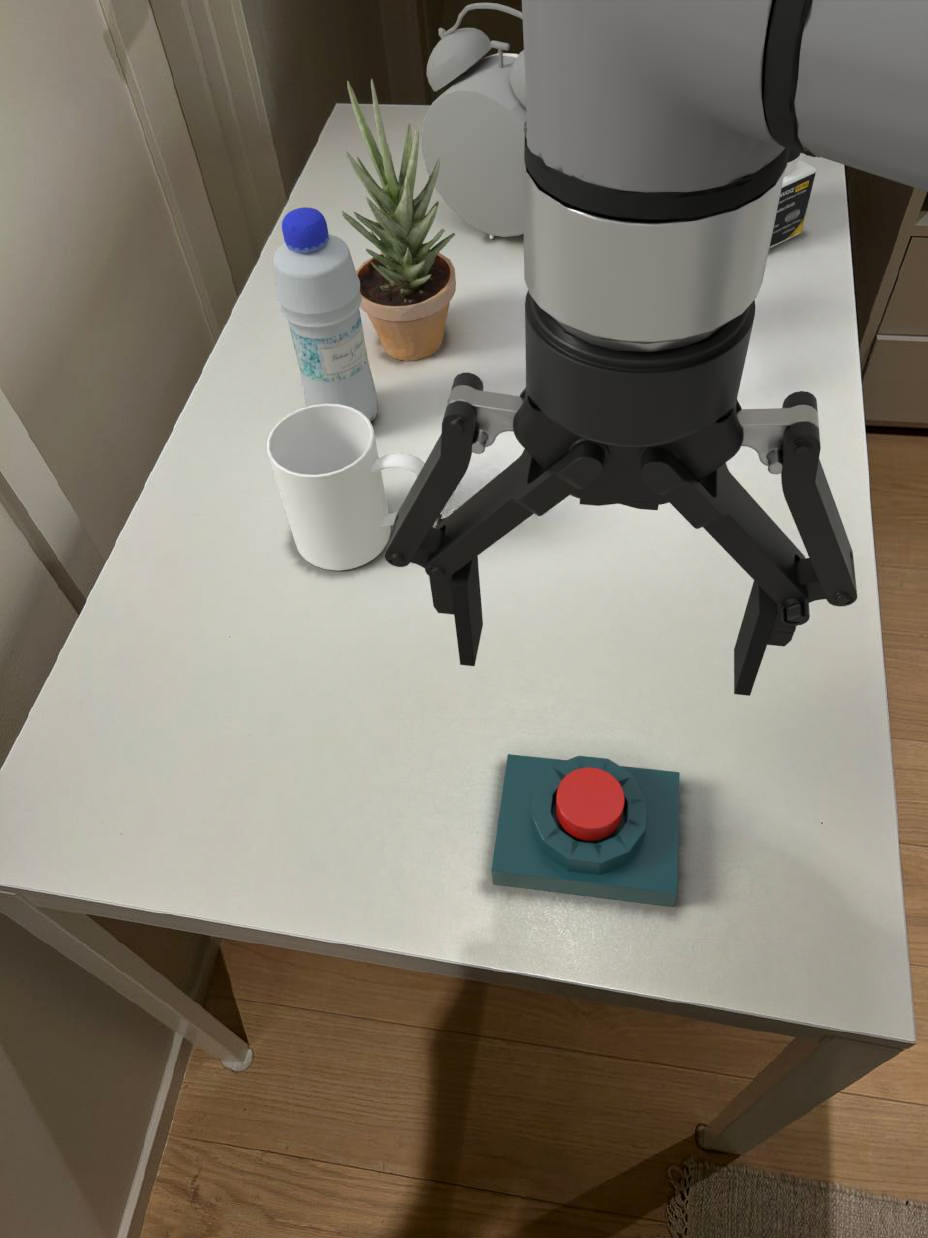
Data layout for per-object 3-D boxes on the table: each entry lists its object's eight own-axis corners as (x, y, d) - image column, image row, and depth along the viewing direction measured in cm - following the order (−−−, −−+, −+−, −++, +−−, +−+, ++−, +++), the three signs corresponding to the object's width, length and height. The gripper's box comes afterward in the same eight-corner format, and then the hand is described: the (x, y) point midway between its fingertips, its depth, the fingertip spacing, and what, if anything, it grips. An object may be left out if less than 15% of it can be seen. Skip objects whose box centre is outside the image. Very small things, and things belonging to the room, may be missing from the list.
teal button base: (675, 787, 61) (683, 758, 58) (673, 907, 56) (681, 882, 53) (508, 769, 62) (507, 740, 59) (492, 884, 58) (490, 859, 54)
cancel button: (624, 784, 57) (626, 770, 56) (620, 845, 55) (622, 832, 53) (559, 777, 58) (559, 763, 56) (552, 837, 55) (553, 824, 54)
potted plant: (353, 325, 93) (305, 60, 74) (443, 303, 95) (420, 37, 75) (379, 385, 87) (334, 114, 68) (474, 361, 89) (458, 88, 69)
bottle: (339, 456, 82) (292, 247, 66) (294, 421, 85) (239, 214, 69) (397, 419, 84) (365, 209, 68) (352, 387, 87) (311, 179, 72)
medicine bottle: (751, 258, 96) (776, 141, 86) (704, 229, 100) (722, 113, 90) (802, 234, 98) (831, 117, 89) (753, 206, 102) (776, 91, 92)
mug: (280, 562, 75) (248, 467, 66) (316, 494, 79) (291, 396, 71) (424, 590, 72) (409, 494, 64) (453, 517, 77) (443, 419, 68)
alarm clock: (589, 228, 101) (600, 0, 84) (548, 268, 97) (552, 37, 80) (464, 192, 107) (450, -28, 90) (421, 228, 103) (398, 5, 86)
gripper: (1030, 235, 31) (855, 623, 47) (304, 212, 34) (381, 578, 51) (1081, 382, 26) (868, 752, 43) (241, 336, 30) (348, 692, 47)
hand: (603, 658), depth 47 cm, fingers open, 13 cm apart
